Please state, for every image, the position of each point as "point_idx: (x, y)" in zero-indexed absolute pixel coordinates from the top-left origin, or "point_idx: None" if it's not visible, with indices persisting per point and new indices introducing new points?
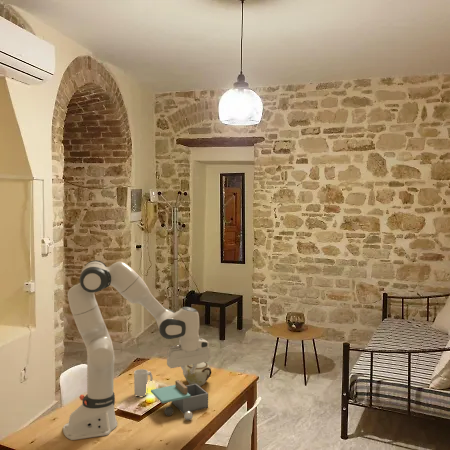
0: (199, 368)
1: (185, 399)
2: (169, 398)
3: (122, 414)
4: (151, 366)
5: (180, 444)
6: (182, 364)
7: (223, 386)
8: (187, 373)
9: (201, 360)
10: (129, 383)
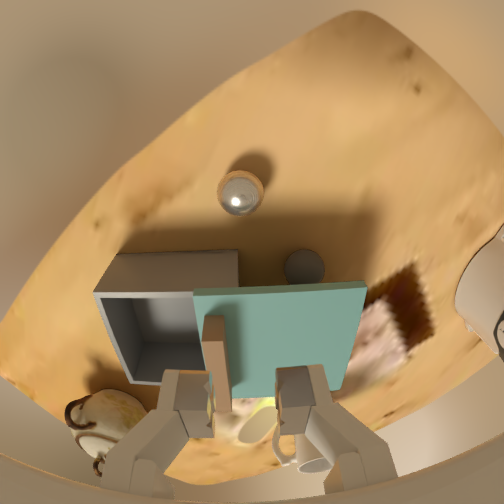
0: (102, 437)
1: (224, 286)
2: (320, 302)
3: (420, 320)
4: (215, 473)
5: (365, 14)
6: (439, 496)
7: (46, 356)
8: (281, 379)
9: (16, 498)
10: None
